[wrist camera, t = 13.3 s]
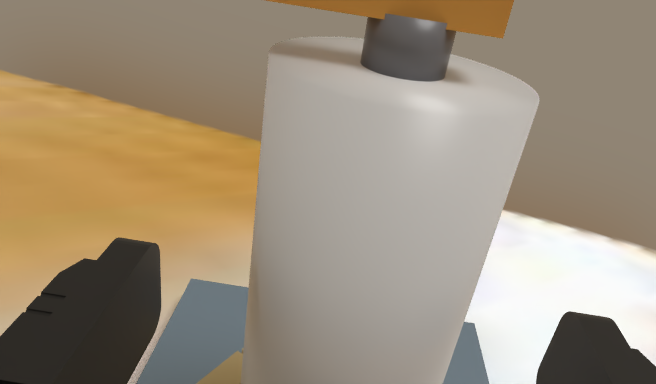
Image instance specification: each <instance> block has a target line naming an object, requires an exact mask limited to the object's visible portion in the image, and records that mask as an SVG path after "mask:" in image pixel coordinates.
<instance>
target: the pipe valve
mask: <svg viewBox="0 0 656 384" xmlns="http://www.w3.org/2000/svg"><path fill="white" fill-rule="evenodd" d="M266 1H272V2H278V3H285V4H291V5H298V6H304V7H310V8H316V9H322V10H328V11H335V12H341V13H347V14H354V15H360V16H366V17H368V19H367V25H366V31H365V37H364V39H363V38H351V37H303V38H295V39H289V40H285V41H282V42H279V43H277V44H275V45H274V46H272V47H271V48H270V50H269V57H268V68H267V80H266V92H265V103H264V116H263V127H262V138H261V150H260V162H259V173H258V185H257V197H256V209H255V220H254V232H253V244H252V255H251V267H250V279H249V290H248V302H247V314H246V325H245V337H244V349H243V360H242V372H241V384H443V381H444V378H445V375H446V373H447V370H448V367H449V364H450V361H451V358H452V355H453V352H454V349H455V346H456V343H457V341H458V338H459V335H460V332H461V329H462V326H463V323H464V320H465V317H466V314H467V311H468V308H469V306H470V303H471V300H472V297H473V294H474V291H475V288H476V285H477V282H478V279H479V276H480V274H481V271H482V268H483V265H484V262H485V259H486V256H487V253H488V250H489V247H490V244H491V242H492V239H493V236H494V233H495V230H496V227H497V224H498V221H499V218H500V215H501V212H502V209H503V206H504V204H505V201H506V198H507V195H508V192H509V189H510V186H511V183H512V180H513V177H514V175H515V172H516V169H517V166H518V163H519V160H520V157H521V154H522V151H523V148H524V145H525V142H526V140H527V137H528V134H529V131H530V128H531V125H532V122H533V119H534V116H535V113H536V110H537V107H538V105H539V100H540V99H539V95H538V94H537V92H536V91H535V90H534V89H533V88H532V87H530V86H529V85H528V84H526V83H525V82H523V81H522V80H520V79H518V78H516V77H514V76H512V75H510V74H508V73H506V72H503V71H501V70H498V69H496V68H493V67H491V66H488V65H485V64H482V63H480V62H476V61H473V60H470V59H466V58H463V57H460V56H456V55H452V54H451V50H452V46H453V42H454V38H455V34H456V31H460V32H466V33H472V34H479V35H485V36H491V37H497V38H503V36H504V33H505V29H506V26H507V23H508V19H509V16H510V12H511V9H512V5H513V2H514V0H266Z"/></svg>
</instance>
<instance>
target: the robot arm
mask: <svg viewBox="0 0 656 384" xmlns="http://www.w3.org/2000/svg"><path fill="white" fill-rule="evenodd" d="M160 311H161V277H160V250H159V246H158V245H157V244H156V243H150V242H144V241H138V240H132V239H125V238H116V239H115V240H114V241H113V242H112V243H111V244H110V245H109V246H108V248H107V249H106V250H105V251H104V252H103V253H102V255H101V256H100V257H99V258H98V259H97V260H91V259H83V260H81V261H79V262H78V263H76V264H74V265H72V266H70V267H69V268H67V269H65V270H63V271H62V272H60V273H59V274H58V275H57V276H56V277H55V278H54V279H53V280H52V281H51V282H50V283H49V284H48V285H47V287H46V288H45V289H44V290H43V291H42V292H41V296H37V297H36V298H35V300H34V301H33V302H32V303H31V304H30V305H29V306H28V307H27V309H26V312H25V313H24V312H23V313H22V314H21V315H20V316H19V317H18V318H17V319H16V320H15V321H14V322H13V323H12V324H11V326H10V327H9V328H8V329H7V330H6V331H5V332H4V333H3V334H2V335H1V336H0V384H127V383H128V381H129V379H130V377H131V375H132V374H133V372H134V370H135V368H136V366H137V364H138V363H139V361H140V359H141V357H142V355H143V354H144V352H145V350H146V348H147V346H148V344H149V343H150V341H151V339H152V337H153V335H154V333H155V331H156V328H157V325H158V321H159V317H160ZM536 384H656V366H655V365H653V364H652V363H651V362H650V361H649V360H648V359H647V358H646V357H645V356H644V355H643V354H642V353H641V352H640V351H639V350H637V349H631V348H630V346H629V345H628V343H627V341H626V340H625V338H624V336H623V335H622V333H621V331H620V330H619V328H618V326H617V325H616V323H615V322H614V321H613V320H612V319H610V318H607V317H601V316H595V315H589V314H583V313H576V312H567V313H565V314H564V315H563V317H562V318H561V320H560V322H559V324H558V326H557V329H556V331H555V333H554V335H553V337H552V340H551V342H550V344H549V346H548V349H547V351H546V353H545V355H544V357H543V360H542V362H541V364H540V366H539V369H538V373H537V380H536Z"/></svg>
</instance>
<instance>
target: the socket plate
mask: <svg viewBox="0 0 656 384" xmlns="http://www.w3.org/2000/svg"><path fill="white" fill-rule="evenodd" d="M248 290H249V288H247V287H241V286H235V285H228V284H222V283H216V282H209V281H203V280H197V279H191V280H190V282H189V284H188V286H187V288H186V290H185V292H184V294H183V295H182V297H181V299H180V301H179V303H178V305H177V307H176V309H175V311H174V313H173V315H172V316H171V318H170V320H169V322H168V324H167V326H166V328H165V330H164V332H163V334H162V336H161V337H160V339H159V341H158V343H157V345H156V347H155V349H154V351H153V353H152V355H151V357H150V358H149V360H148V362H147V364H146V366H145V368H144V370H143V372H142V374H141V376H140V378H139V379H138V381H137V383H136V384H241V372H242V360H243V349H244V337H245V325H246V314H247V302H248ZM443 384H489V381H488V377H487V373H486V369H485V365H484V361H483V357H482V353H481V349H480V345H479V340H478V336H477V332H476V328H475V324H474V323H468V322H464V323H463V326H462V329H461V332H460V335H459V338H458V341H457V343H456V346H455V349H454V352H453V355H452V358H451V361H450V364H449V367H448V370H447V373H446V375H445V378H444V381H443Z"/></svg>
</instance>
